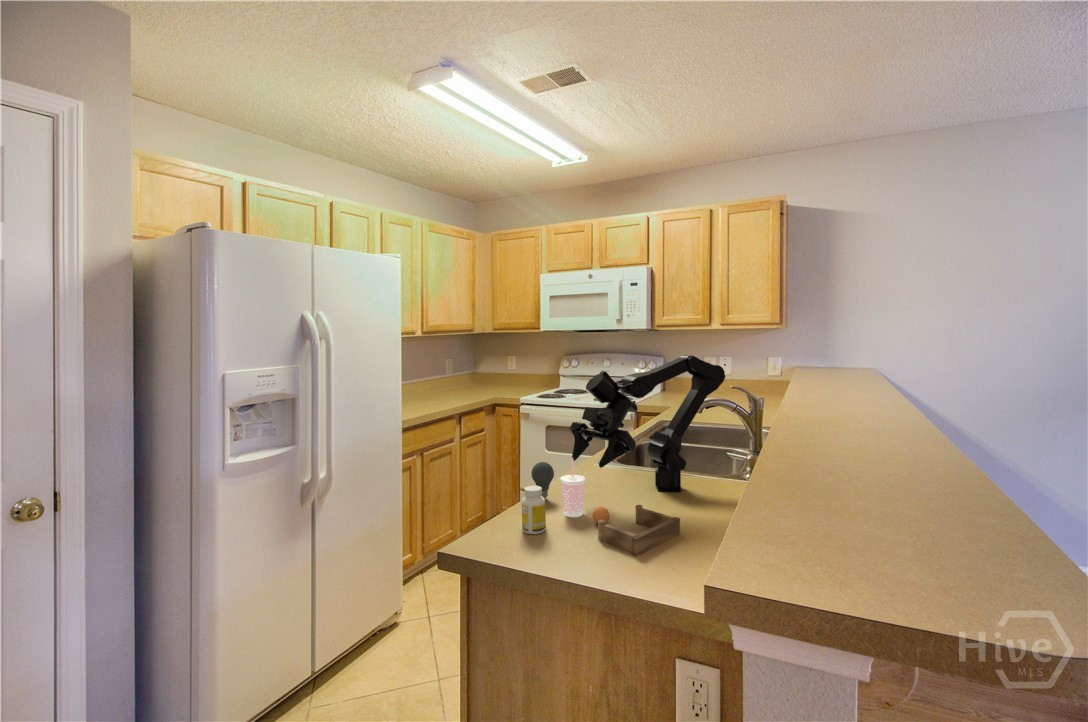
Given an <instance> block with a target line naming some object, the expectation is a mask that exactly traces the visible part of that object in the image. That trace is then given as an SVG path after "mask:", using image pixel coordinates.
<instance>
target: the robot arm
mask: <svg viewBox="0 0 1088 722" xmlns="http://www.w3.org/2000/svg"><path fill="white" fill-rule="evenodd" d="M684 373H688V374H689V375H691V376H692V377H691V386H690V387H691V388H690V389H689V391H688V393H687V394H686V395H685V397H684V399H683V401H682V402H681V404H680V406H679V407H678V409H677V410H676V411H675V414H674V415H673V417H672V419H671V420H670V422H669V423H668V425H667V427H666V428H665V429H664V430H663V431H658V430H656V431H655V432H654V433H653V436H652V438H651V439H650V440H649V441H647V443H649V444H648V446H647V452H648V456H649V458H650V459H651V460H652V464H654V465H656V469H655V470H654V486H655V488H657V491H659V492H683V490H682V487H681V486H682V485H681V484H682V483H681V482H682V479H681V478H682V472H681V471H682V470H685V469H686V465H687V461H686V460H685V459H684V458H683V456H681V455H680V453H681V451H682V439H683V436H684V435H685V434H686V431H687V430H688V428H689V427H690V425H691V423H692V422H693V420H694V419H695V417H696V415H697V413H698V412H699V410H700V409H701V407H702V405H703V404H704V402H705V400H706V399H707V397H708V396H709V395H711V394H712V393H714V392H716V391H717V390H718V389H719V388H720V387H721V385H722V384H723V383H724V381H725V379H726V374H725V370H724V367H722V366H721V365H718V364H712V363H710V362H709V361H705V360H702V359H700V358H699V357H697V356H695V355H693V354H692V355H691V354H690V355H689V354H682V355H680V356H679V357H677V358H675V359H673V360H670V361H669V362H665V363H664V364H662V365H659V366H658V367H655V368H652V369H650V370H648V371H644V372H635V373H630V374H626V375H625V376H623V377H622V378H621V379H620V380H616V381H615V380H614V379H613V378H612V377H611V376H610V374H609V373H608V372H607V371H605V370H601V371H600V372H599V373H598V374H596V375H594V376H593V377H592V378H590V379H589V380H588V381H587V383H586V385H585V389H586V390H587V391H588V392H589V393H590V394H591V395H592V396H593V397H594V399H596V400H597V401H598V402H599V403H600V404H605V403H606V406H605V407H602V408H601V409H600V408H595V407H588V406H585V407H584V411H583V414H582V417H581V419H582V420H584V421H588V422H589V425H590V427H591V428H593V429H590V428H589V426H588V425H587V424H586V423H584V422H578V421H572V423H571V424H570V426H569V428H568V429H569V430H570V432H571V435H572V436H573V438H574V444H573V450H572V455H571V458H573V462H575V461H577V460H578V459H579V458H580V456H581V455H582V454H583V453H584V452H585V450H586V449H587V448H588V447H589V446H590V445H591V444H590V442H591V441H592V440H593V438H594V439H598V440H603V441H607V447H606V449H605V451H604V453H603V454H602V457H601V458H600V459H599V460H600V461H599V462H598V467H599V468H600V469H602V468H604V467H605V466H606V465H608V464H610V463H611V462H612V461H614V460H616V459H617V458H620V457H622V456H623V455H625V454H626V455H627V454H628V453H633V452H634V451H635V448H636V446H637V445H636V444H637V442H636V440H635V438H634V437H632V435H631V434H630V432H629V431H628V430H624V429H623V428H624V426H625V423H624V420H625V418H626V416H627V415H628V414H629V413H628V412H637V411H638V410H639V408H638V406H637V404H636V403H637V402H636V400H631V399H630V398H629V397H631V398H635V399H642V398H645V397H646V396H647V395H649V394H651V393H652V392H653V390H655V388H656V387H657V386H659V385H660V384H663V383H664V382H666V381H670V380H671V379H673V378H675V377H678V376H680V375H683V374H684Z"/></svg>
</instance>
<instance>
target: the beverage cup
mask: <svg viewBox="0 0 1088 722" xmlns="http://www.w3.org/2000/svg"><path fill="white" fill-rule="evenodd" d="M570 462H571V474H566V475H562V476H561V477H560V483H561V490H562V491H561V494H562V503H563V504H562V505H563V515H564V516H565V517H567V518H568V517H569V518H577V517H578V518H579V517H581V516H583V512H584V491H585V482H586V478H585V476H583V475H580V474H574V472H575V471H574V469H575V468H574V461H573V458H572V457H571V461H570Z"/></svg>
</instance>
